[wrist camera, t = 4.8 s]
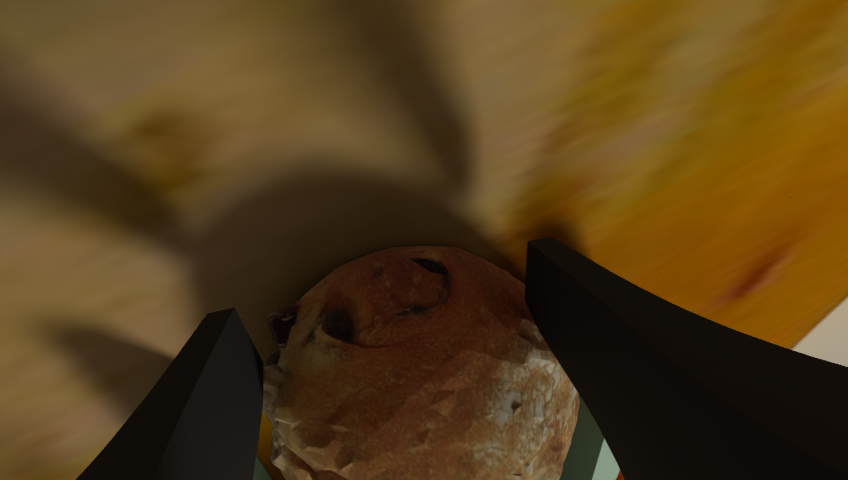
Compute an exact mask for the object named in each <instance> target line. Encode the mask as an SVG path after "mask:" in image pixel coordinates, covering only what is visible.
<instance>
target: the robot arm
mask: <svg viewBox="0 0 848 480" xmlns="http://www.w3.org/2000/svg"><path fill="white" fill-rule="evenodd" d="M525 302H526V304H527V306H528V308H529V311H530V313H531V315H532V317H533V319H534V321H535V323H536V325H537V328H538V330H539V332H540V334H541V335H542V337H543V338H544V340H545V342H546V343H547V345H548V346H549V348H550V350H551V351H552V353H553V354H554V356H555V358H556V359H557V361H558V362H559V364H560V365H561V367H562V368H563V370H564V372H565V373H566V375H567V376H568V378H569V379H570V381H571V383H572V384H573V386H574V387H575V389H576V390H577V392H578V393H579V395H580V397H581V398H582V400H583V401H584V403H585V404H586V406H587V408H588V409H589V411H590V413H591V414H592V416H593V418H594V420H595V421H596V423H597V425H598V427H599V429H600V431H601V433H602V435H603V437H604V439H605V441H606V443H607V444H608V446H609V448H610V450H611V452H612V454H613V456H614V458H615V460H616V462H617V464H618V466H619V468H620V470H621V472H622V474H623V477H624V479H625V480H848V367H845V366H842V365H839V364H835V363H831V362H828V361H825V360H822V359H818V358H814V357H811V356H808V355H805V354H802V353H799V352H796V351H793V350H790V349H787V348H784V347H781V346H778V345H775V344H772V343H769V342H766V341H764V340H761V339H758V338H755V337H752V336H750V335H747V334H744V333H741V332H739V331H736V330H733V329H731V328H728V327H726V326H723V325H721V324H718V323H716V322H714V321H711V320H709V319H706V318H704V317H702V316H699V315H697V314H695V313H692V312H690V311H688V310H685V309H683V308H681V307H679V306H677V305H674V304H672V303H670V302H668V301H666V300H664V299H662V298H660V297H658V296H656V295H654V294H652V293H650V292H648V291H646V290H644V289H642V288H640V287H638V286H636V285H634V284H633V283H631V282H629V281H627V280H625V279H623V278H621V277H620V276H618V275H616V274H614V273H612V272H611V271H609V270H607V269H605V268H604V267H602V266H600V265H598V264H597V263H595V262H593V261H591V260H590V259H588V258H586V257H585V256H583V255H581V254H580V253H578V252H576V251H574V250H573V249H571V248H569V247H568V246H566V245H564V244H562V243H561V242H559V241H557V240H555V239H553V238H551V237H547V238H543V239H538V240H534V241H529V242H528V248H527V266H526V284H525ZM262 408H263V362H262V360H261V358H260V356H259V354H258V352H257V350H256V348H255V346H254V344H253V342H252V341H251V339H250V337H249V335H248V333H247V331H246V329H245V327H244V325H243V323H242V321H241V319H240V317H239V316H238V314H237V312H236V310H235V308H231V309H226V310H222V311H217V312H213V313H208V314H207V315H206V317H205V318H204V319H203V320H202V322H201V323H200V325H199V326H198V327H197V329H196V330H195V331H194V333H193V334H192V336H191V337H190V338H189V340H188V341H187V343H186V344H185V345H184V347H183V348H182V349H181V351H180V352H179V354H178V355H177V356H176V358H175V359H174V360H173V362H172V363H171V365H170V366H169V367H168V369H167V370H166V371H165V373H164V374H163V375H162V377H161V378H160V379H159V381H158V382H157V383H156V385H155V386H154V387H153V389H152V390H151V391H150V393H149V394H148V395H147V396H146V398H145V399H144V400H143V401H142V403H141V404H140V405H139V406H138V408H137V409H136V410H135V411H134V412H133V414H132V415H131V416H130V417H129V419H128V420H127V421H126V422H125V424H124V425H123V426H122V427H121V429H120V430H119V431H118V432H117V433H116V435H115V436H114V437H113V438H112V440H111V441H110V442H109V443H108V444H107V445H106V447H105V448H104V449H103V450H102V451H101V452H100V454H99V455H98V456H97V457H96V458H95V459H94V460H93V461H92V463H91V464H90V465H89V466H88V467H87V468H86V469H85V470H84V471H83V472H82V473H81V475H80V476H79V477H78V478H77V479H76V480H253V476H254V468H255V461H256V454H257V447H258V439H259V432H260V424H261V417H262Z"/></svg>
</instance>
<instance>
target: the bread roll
mask: <svg viewBox="0 0 848 480" xmlns="http://www.w3.org/2000/svg"><path fill="white" fill-rule="evenodd" d="M267 321H268V325H269V329H270V330H271V331H272V338H273V340H274V341H275V342H276V343H277V344H278V346H280V347H279V350H278V351H277V352H275V353H273V354H271V356H270V357H269V359H268V361H267V364H266V366H263V408H262V412H263V413H264V414H266V416H267V417H268V419H269V421H271V423H272V426H273V430H272V433H271V434H272V436H273V439H272V443H271V451H272V455H271V457H270V459H271V461H272V463H273V465H275V466H276V467H278V468H279V469H280V470H281V472H282V474H283V476H284V478H285V479H286V480H559V479H560V476H561V473H562V470H563V463H564V460H565V458H566V455H567V452H568V449H569V447H570V444H571V440H572V435H573V432H574V429H575V426H576V422H577V416H578V409H579V404H580V401H579V397H578V394H579V393H578V392H577V390H576V389H575V387H574V386H573V384H572V383H571V381H570V379H569V378H568V376H567V375H566V373H565V372H564V370H563V368H562V367H561V365H560V364H559V362H558V361H557V359H556V358H555V356H554V354H553V353H552V351H551V350H550V348H549V346H548V345H547V343H546V342H545V340H544V338H543V337H542V335H541V334H540V332H539V330H538V328H537V325H536V323H535V321H534V319H533V317H532V315H531V313H530V311H529V308H528V306H527V304H526V302H525V284H524V283H523V282H521V281H520V280H518V279H516V278H515V277H513V276H511V275H510V273H509V272H508V271H506V270H503V269H500V268H498V267H497V266H495V265H494V264H493V263H491V262H489V261H487V260H485V259H482V258H480V257H478V256H476V255H474V254H472V253H470V252H468V251H465V250H463V249H460V248H458V247H455V246H406V247H391V248H388V249H384V250H381V251H377V252H374V253H371V254H368V255H365V256H363V257H360V258H358V259H355V260H353V261H350V262H348V263H345V264H343V265H341V266H338V267H337V268H335V269H334V270H333V271H332V272H331V273H330V274H329V275H328V276H326V277H325V278H324V279H323V280H322V281H320V282H319V283H318V284H317V285H316V286H314V287H313V288H312V289H311V290H310V291H308V292H307V293H306V294H305V295H304V296H303V297H302V298H301V299H300V301H297V302H296V303H295V304H294V305H292V306H291V307H289V308H285V309H282V310H279V311H275V312H273V313H271V314H269V315H268V318H267Z"/></svg>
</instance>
